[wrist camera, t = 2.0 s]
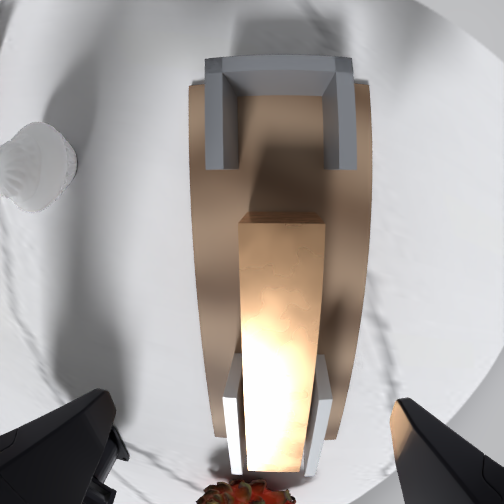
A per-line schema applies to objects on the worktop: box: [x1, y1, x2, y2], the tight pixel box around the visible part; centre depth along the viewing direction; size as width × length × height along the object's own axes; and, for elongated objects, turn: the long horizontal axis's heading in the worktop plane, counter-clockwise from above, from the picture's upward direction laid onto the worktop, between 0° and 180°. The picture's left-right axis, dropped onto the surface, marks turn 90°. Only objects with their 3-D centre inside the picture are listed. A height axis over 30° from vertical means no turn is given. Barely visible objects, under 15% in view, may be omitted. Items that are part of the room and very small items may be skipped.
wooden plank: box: [238, 212, 326, 472], centre depth 18 cm, size 19×4×4 cm, turn 1°
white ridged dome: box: [0, 122, 77, 213], centre depth 15 cm, size 6×6×7 cm
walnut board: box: [189, 83, 372, 440], centre depth 20 cm, size 28×11×1 cm, turn 1°
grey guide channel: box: [223, 353, 333, 476], centre depth 19 cm, size 9×6×5 cm
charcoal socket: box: [205, 54, 357, 170], centre depth 14 cm, size 5×7×5 cm
